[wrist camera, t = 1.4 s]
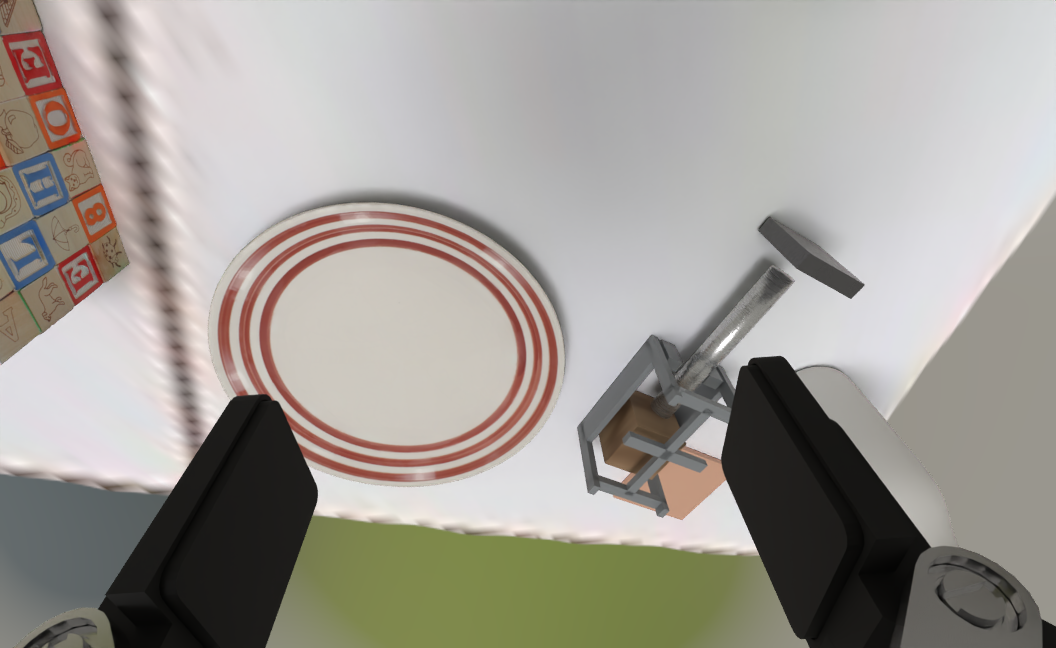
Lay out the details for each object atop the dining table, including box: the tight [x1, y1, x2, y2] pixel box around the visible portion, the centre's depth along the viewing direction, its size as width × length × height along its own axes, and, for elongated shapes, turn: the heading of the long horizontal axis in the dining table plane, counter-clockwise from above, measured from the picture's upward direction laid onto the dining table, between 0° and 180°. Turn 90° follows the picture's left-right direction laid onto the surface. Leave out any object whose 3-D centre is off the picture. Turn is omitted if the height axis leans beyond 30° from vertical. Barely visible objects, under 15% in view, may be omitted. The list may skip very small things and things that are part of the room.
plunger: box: [651, 217, 864, 419], centre depth 40 cm, size 18×5×6 cm, turn 152°
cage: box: [577, 335, 735, 518], centre depth 44 cm, size 12×8×8 cm, turn 152°
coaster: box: [613, 446, 726, 520], centre depth 53 cm, size 9×9×1 cm
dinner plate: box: [208, 202, 565, 487], centre depth 42 cm, size 27×27×3 cm
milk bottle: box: [796, 367, 960, 548], centre depth 40 cm, size 8×8×20 cm
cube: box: [599, 391, 686, 480], centre depth 46 cm, size 5×5×5 cm
